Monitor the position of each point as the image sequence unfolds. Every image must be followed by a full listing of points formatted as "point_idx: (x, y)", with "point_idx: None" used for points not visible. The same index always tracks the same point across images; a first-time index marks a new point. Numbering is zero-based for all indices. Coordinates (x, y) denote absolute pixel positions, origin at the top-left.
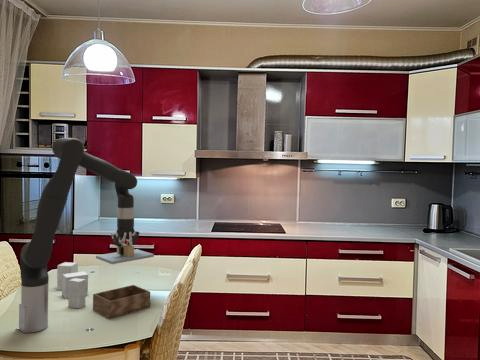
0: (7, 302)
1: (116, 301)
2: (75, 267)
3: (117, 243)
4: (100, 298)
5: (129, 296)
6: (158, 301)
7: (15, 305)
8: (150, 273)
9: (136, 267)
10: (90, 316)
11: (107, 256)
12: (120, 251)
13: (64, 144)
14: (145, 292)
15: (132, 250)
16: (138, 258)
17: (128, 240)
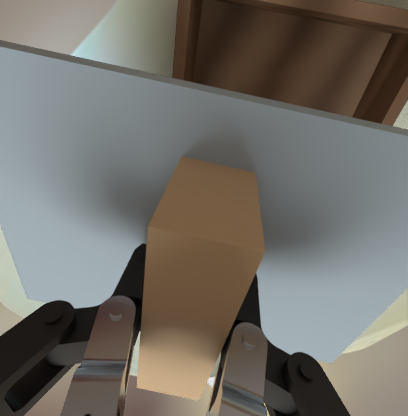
0: (373, 339)
1: (406, 10)
2: (216, 364)
3: (333, 408)
4: (392, 122)
5: (315, 5)
6: (122, 19)
7: (385, 320)
8: (7, 258)
9: (21, 307)
10: (399, 114)
11: (321, 311)
12: (257, 291)
13: None
14: None
15: (189, 197)
16: (172, 80)
17: (123, 396)
